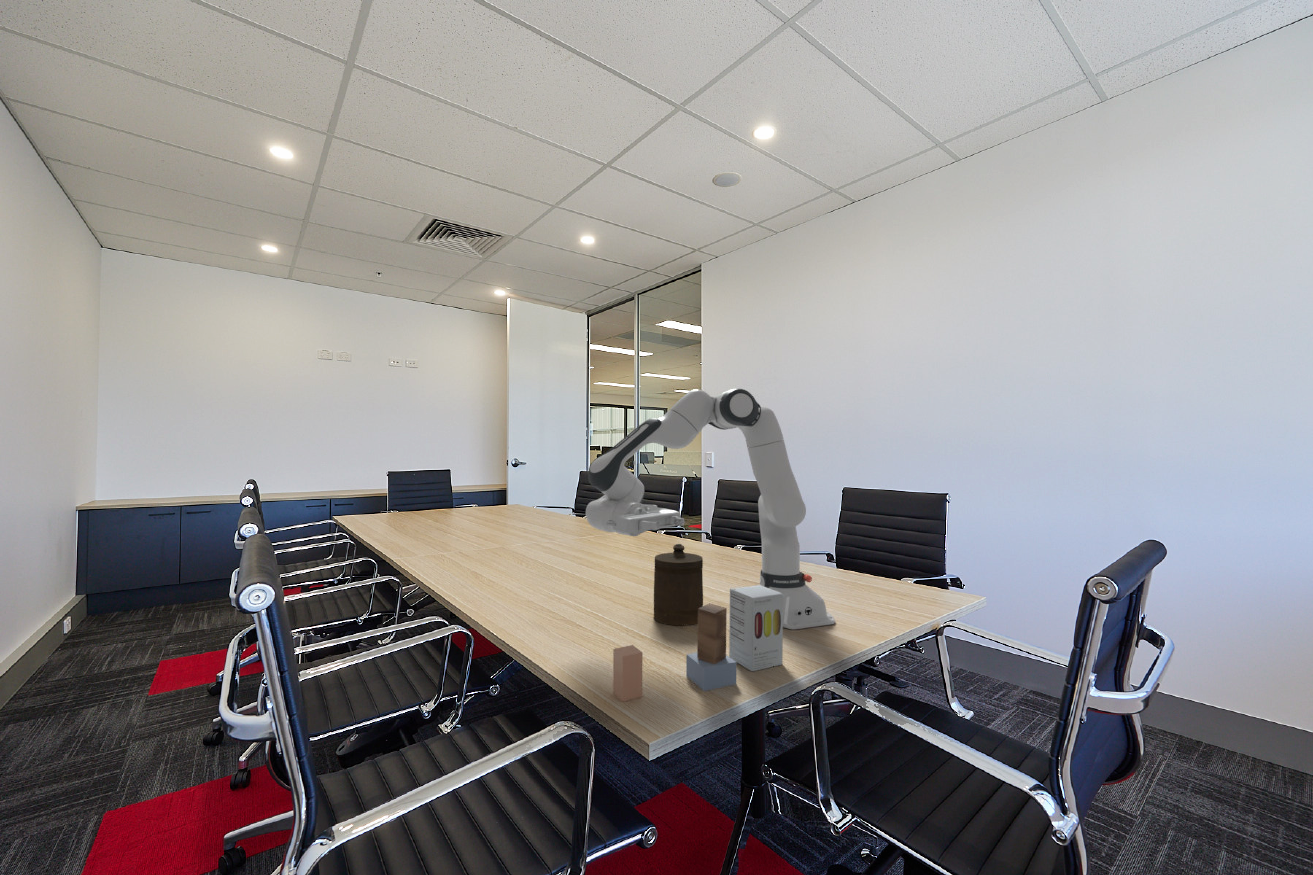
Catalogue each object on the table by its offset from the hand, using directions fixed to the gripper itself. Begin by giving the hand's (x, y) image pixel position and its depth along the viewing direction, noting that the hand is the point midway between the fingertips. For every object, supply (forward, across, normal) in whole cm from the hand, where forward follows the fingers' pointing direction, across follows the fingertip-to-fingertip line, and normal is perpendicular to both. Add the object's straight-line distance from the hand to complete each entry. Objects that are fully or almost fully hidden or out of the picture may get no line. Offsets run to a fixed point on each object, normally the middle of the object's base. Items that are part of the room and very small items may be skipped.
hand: (670, 524), depth 128 cm
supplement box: (+18, +11, +32) cm, 38 cm away
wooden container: (-16, +22, +32) cm, 42 cm away
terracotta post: (+8, -22, +32) cm, 39 cm away
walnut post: (+16, -5, +27) cm, 32 cm away
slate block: (+16, -4, +32) cm, 36 cm away
